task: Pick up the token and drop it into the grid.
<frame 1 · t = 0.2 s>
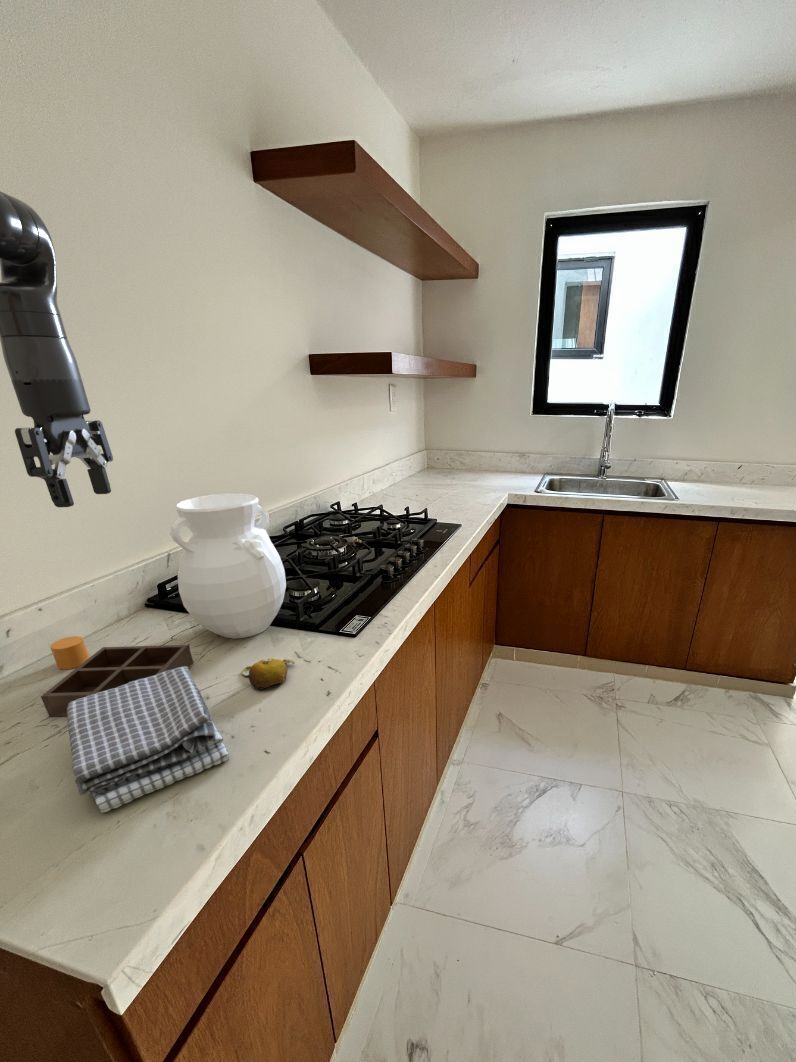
hand: (85, 499, 72), 29 cm above the counter, tool pointing down, fingers open, 8 cm apart
grid: (127, 687, 79), on the counter
yellow rounded lumpy piece: (272, 676, 81), on the counter
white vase: (243, 628, 98), on the counter
towel: (153, 753, 65), on the counter
token: (74, 662, 86), on the counter
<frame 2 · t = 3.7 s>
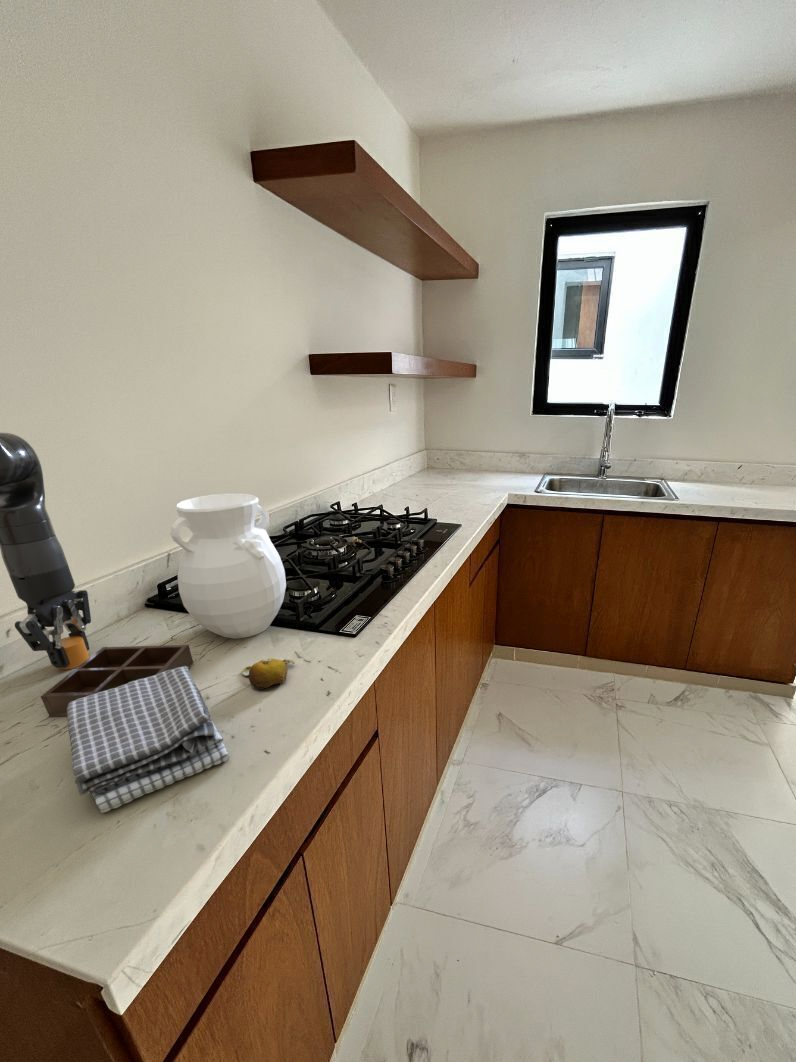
hand: (72, 658, 86), 1 cm above the counter, tool pointing down, fingers closed on token, 4 cm apart
token: (74, 662, 86), on the counter, touching gripper
everything else where it was.
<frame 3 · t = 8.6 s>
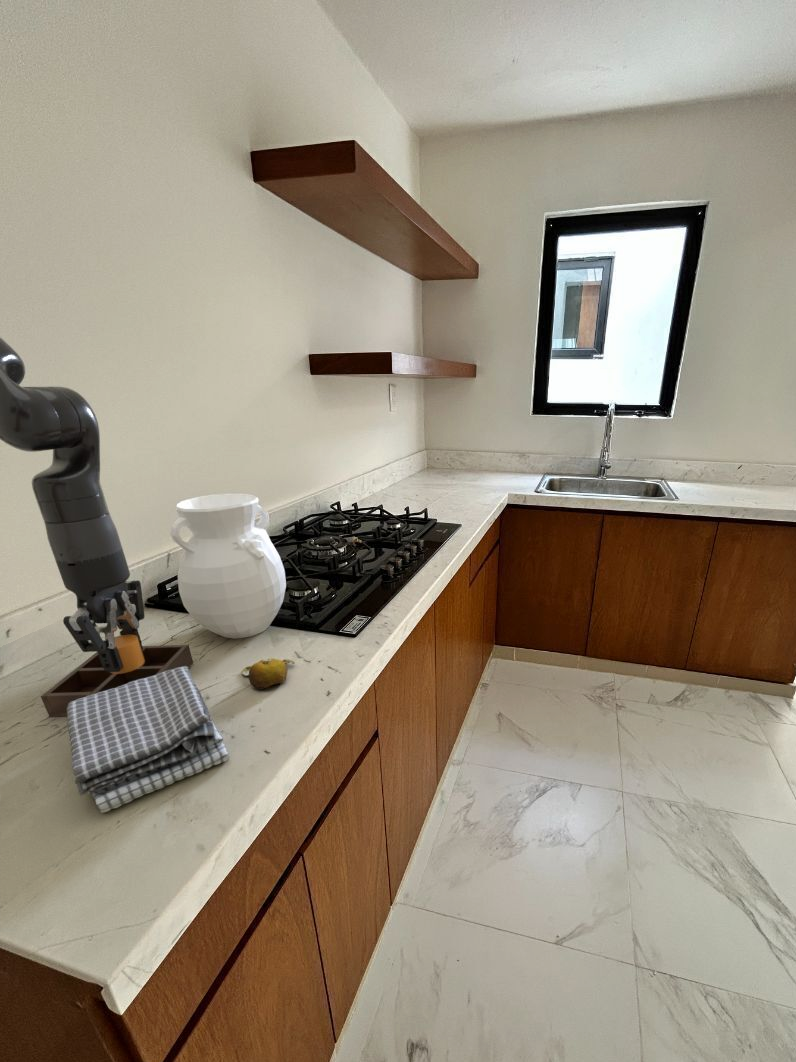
hand: (125, 660, 73), 7 cm above the counter, tool pointing down, fingers closed on token, 4 cm apart
token: (127, 665, 73), point 6 cm above the counter, touching gripper
everything else where it was.
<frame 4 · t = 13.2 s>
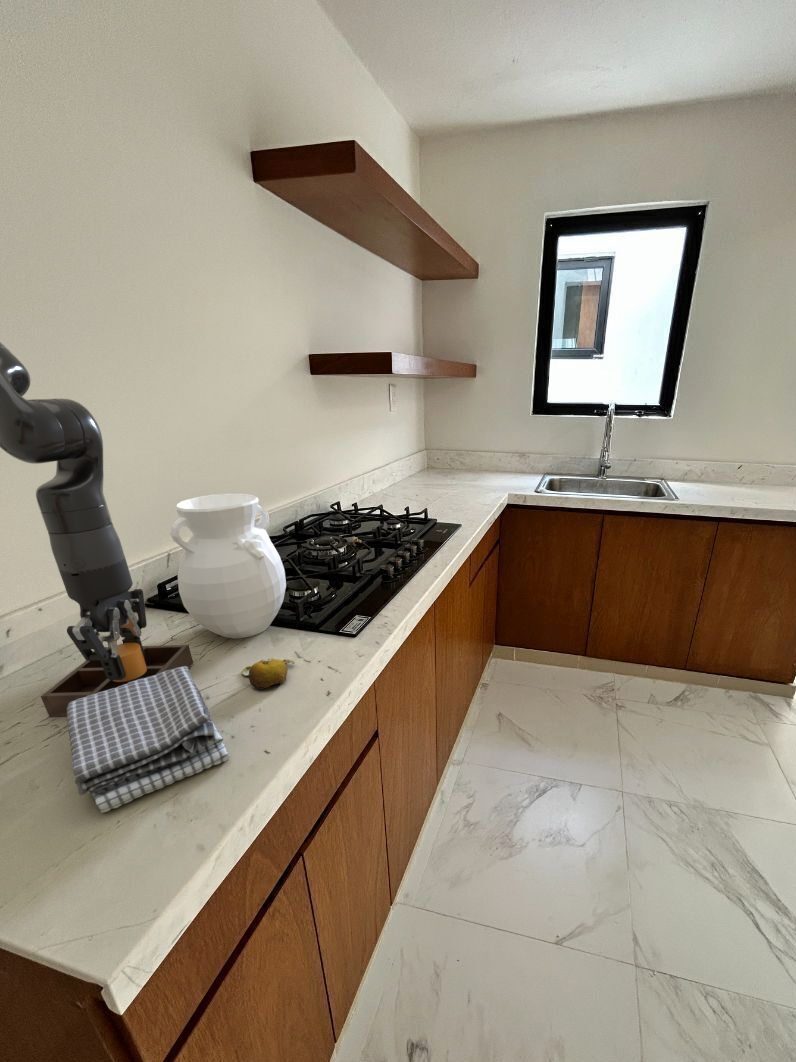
hand: (127, 668, 74), 5 cm above the counter, tool pointing down, fingers closed on token, 4 cm apart
token: (129, 673, 74), point 5 cm above the counter, touching gripper
everything else where it was.
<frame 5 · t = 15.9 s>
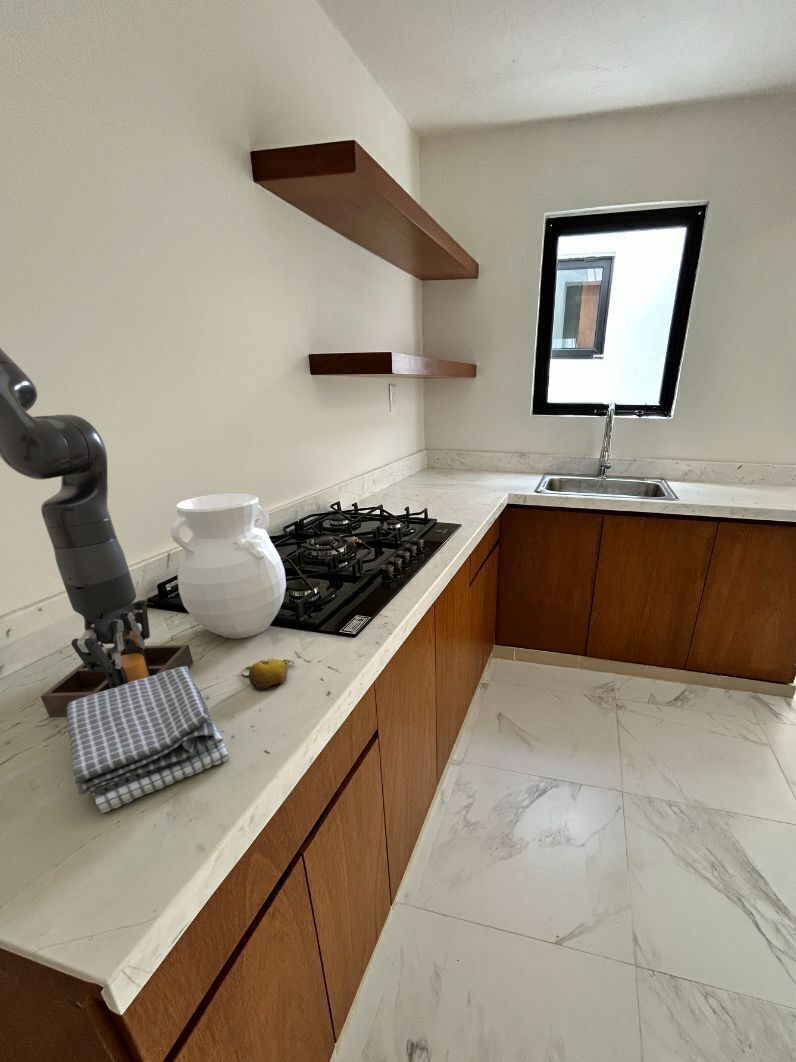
hand: (131, 679, 74), 4 cm above the counter, tool pointing down, fingers closed on token, 4 cm apart
token: (133, 684, 75), point 3 cm above the counter, touching gripper
everything else where it was.
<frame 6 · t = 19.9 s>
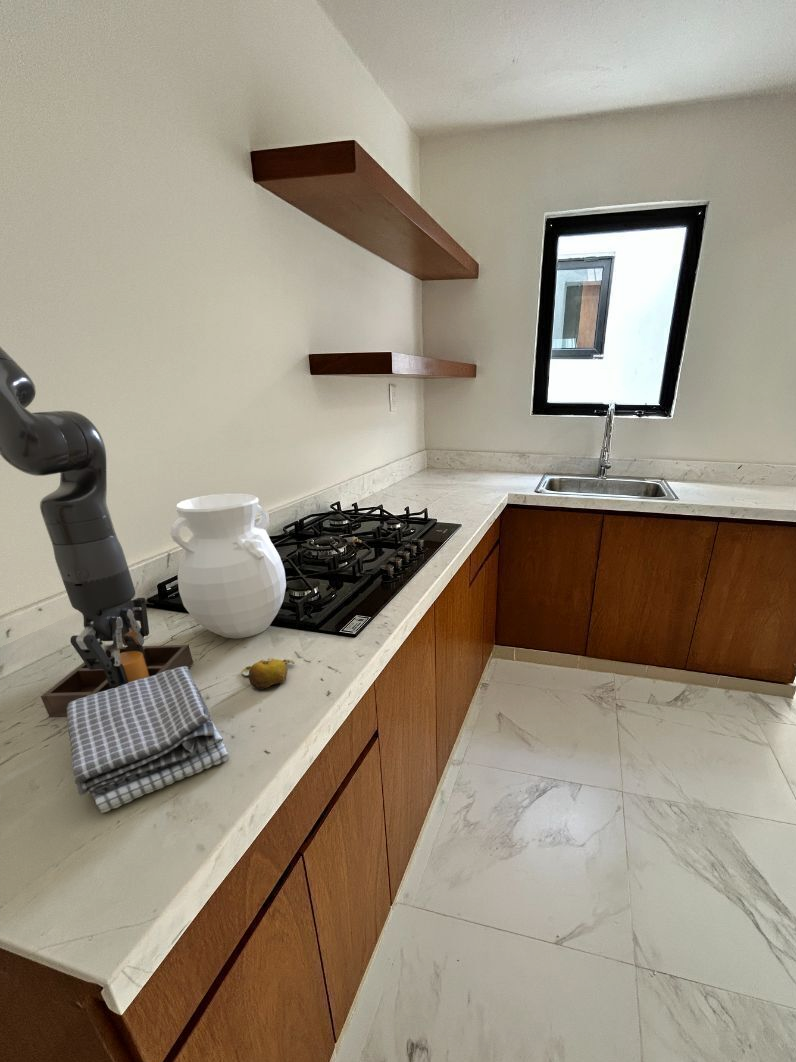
hand: (130, 676, 74), 4 cm above the counter, tool pointing down, fingers closed on token, 4 cm apart
token: (132, 681, 74), point 3 cm above the counter, touching gripper
everything else where it was.
when the fingers open (6 cm above the counter, at t = 23.1 s): token drops 4 cm, resting on grid.
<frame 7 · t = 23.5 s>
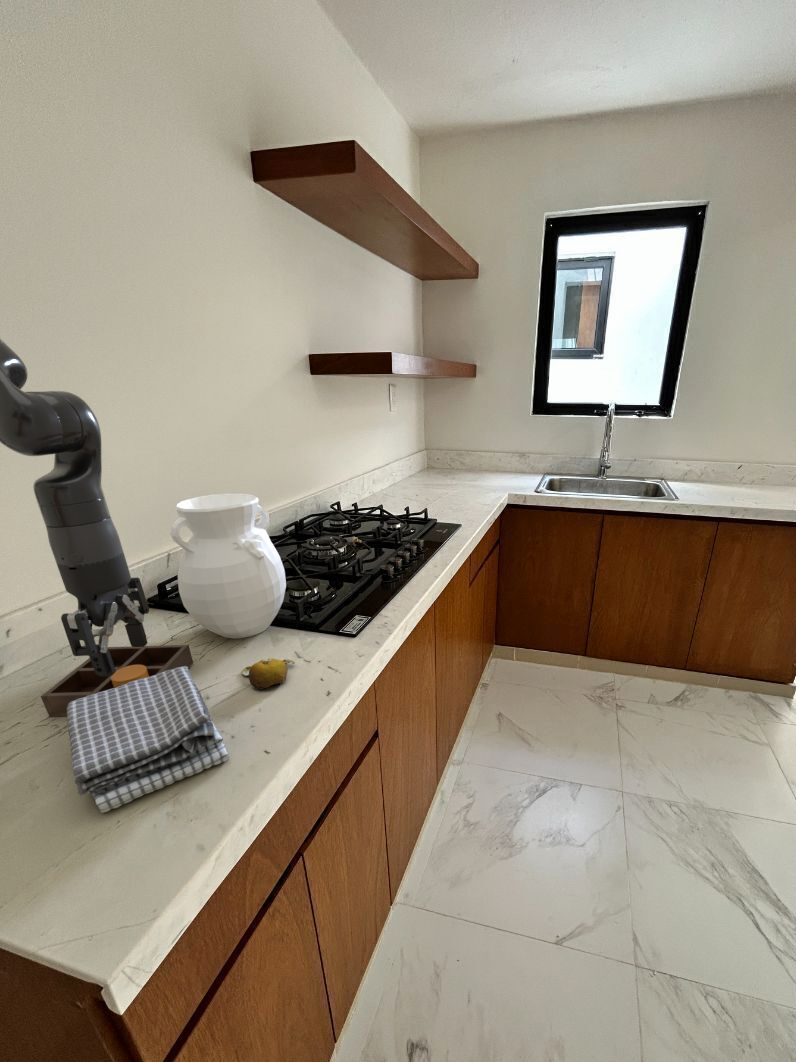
hand: (124, 659, 73), 7 cm above the counter, tool pointing down, fingers open, 8 cm apart
token: (136, 695, 75), point 1 cm above the counter, touching grid
everything else where it was.
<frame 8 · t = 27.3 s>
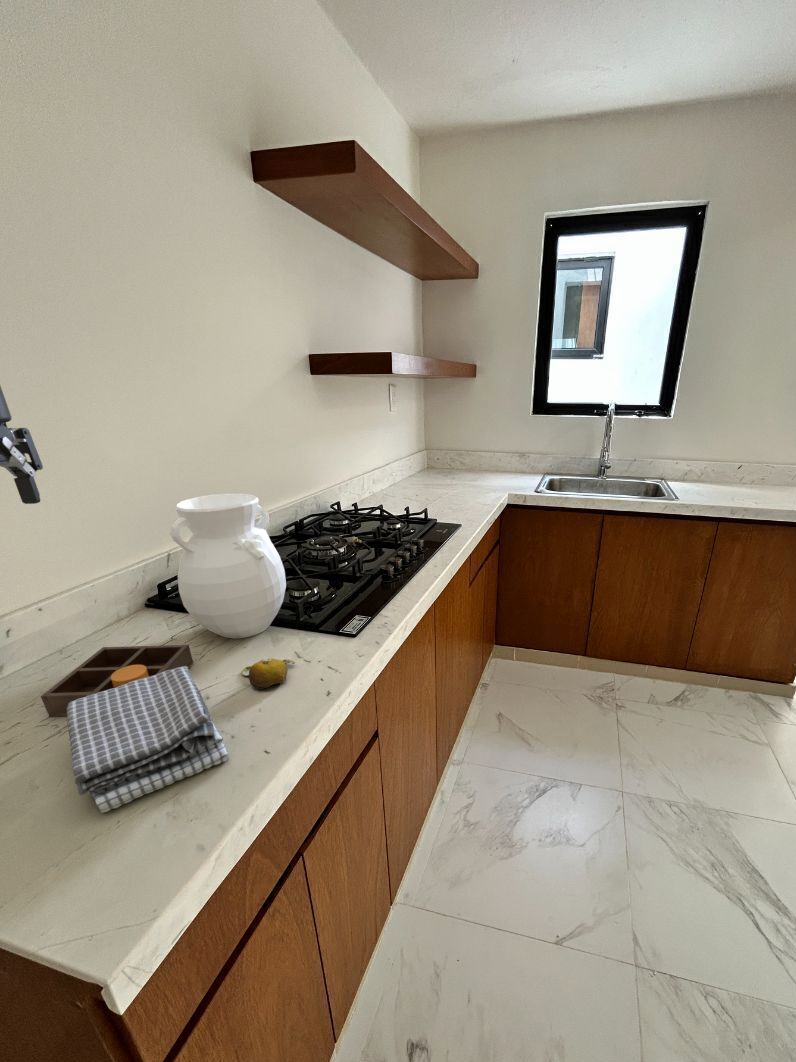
hand: (9, 510, 70), 28 cm above the counter, tool pointing down, fingers open, 8 cm apart
nothing on the counter moved.
at the end: token 0.0 cm from the target spot in the grid, point 0.8 cm above the grid's base; the gripper is holding nothing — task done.
